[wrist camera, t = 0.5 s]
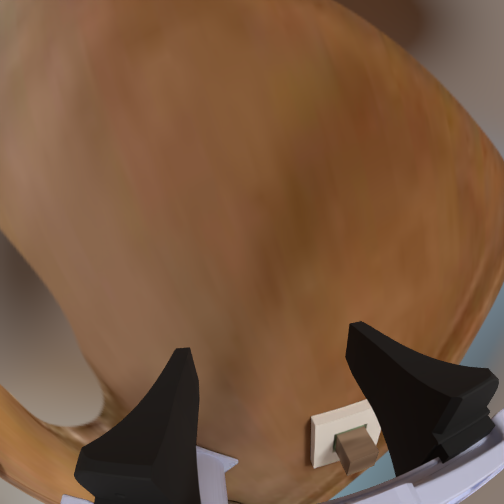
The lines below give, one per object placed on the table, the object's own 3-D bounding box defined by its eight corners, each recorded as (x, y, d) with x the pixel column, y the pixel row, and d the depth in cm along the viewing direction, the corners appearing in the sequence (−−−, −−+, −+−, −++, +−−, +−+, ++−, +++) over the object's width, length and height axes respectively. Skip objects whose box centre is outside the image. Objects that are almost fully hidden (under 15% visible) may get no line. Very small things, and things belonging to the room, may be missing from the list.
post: (356, 433, 30) (374, 465, 25) (330, 442, 30) (346, 476, 24) (359, 417, 29) (379, 450, 24) (332, 426, 29) (350, 462, 23)
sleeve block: (370, 439, 32) (376, 448, 30) (310, 459, 31) (314, 469, 29) (381, 393, 29) (388, 402, 27) (311, 416, 28) (316, 427, 26)
